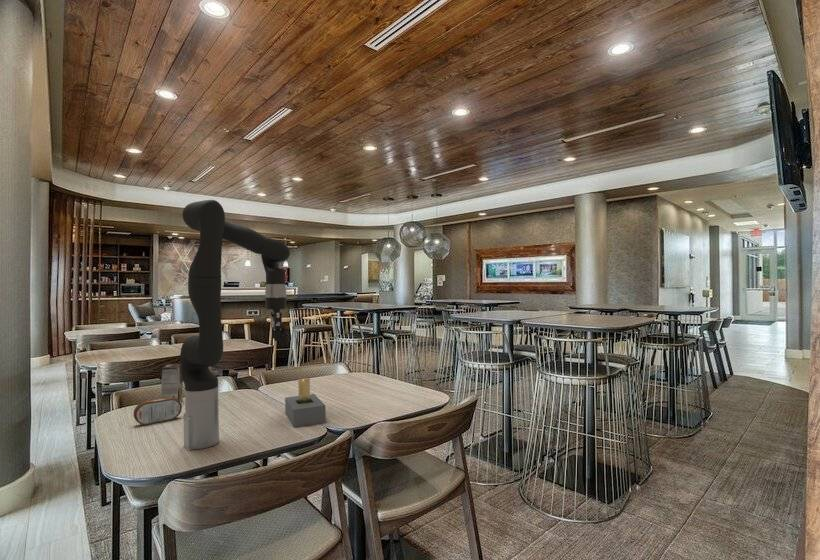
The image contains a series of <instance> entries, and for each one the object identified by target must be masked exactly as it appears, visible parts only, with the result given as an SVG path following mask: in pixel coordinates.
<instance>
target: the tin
mask: <svg viewBox="0 0 820 560" xmlns="http://www.w3.org/2000/svg"><path fill="white" fill-rule="evenodd" d="M182 409H183V405H182V402H181V403H180V401H179V400H178V399H177V398H175V397H166V398H162V397H160V398H153V399H152V398H151V399H147V400H143V401H141V402H140V403H138V404H137V405H136V407H135V408H134V410H133V418H134V420H135V422H137V423H138V424H140V425H142V426H144V425H145V426H148V425H154V424H159V423H164V422H170V421H174V420H176V418H177V417H178V416H179V415H180V414H181V413H182Z"/></svg>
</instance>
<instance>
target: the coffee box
mask: <svg viewBox="0 0 820 560" xmlns="http://www.w3.org/2000/svg"><path fill="white" fill-rule="evenodd" d="M160 370H161V371H160V372H161V373H160V374H161V376H160V377H161V379H160V381H161V398H166V397H175V398H177V399H178V400H179V401H180V402H181V401H182V400H184V395H183V394H184V391H183V390H184V386H183V385H184V382H183V380H182V375H181V363H168V364H165V365H164V366H162V367H161V368H160ZM182 402H183V401H182ZM182 402H181V403H182Z"/></svg>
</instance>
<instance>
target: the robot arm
mask: <svg viewBox="0 0 820 560" xmlns="http://www.w3.org/2000/svg"><path fill="white" fill-rule="evenodd" d="M182 220H183V222H184V223H185V225H186V226H187V227H188V228H190V229H191V230H194V231H197V232H199V245H198V248H197V251H196V253H195V254H194V256H193V257H194V258H193V259H192V262H191V264H190V267H189V270H188V276H187V277H188V278H187V280H188V281H187V292H188V297H189V300H190V302H191V304H192V308H193V310H194V311H195V314H196V316H197V319H198V326H199V327H198V328H199V329H198V332H199V333H198V335H191V336H189V337H188V338H186V339H185V340H184V341H183V342H182V346H181V348H180V364H181V375H182V380H183V385H184V395H185V396H184V400H185V401H184V402H185V403H184V404H185V405H184V406H185V407H184V408H185V411H184V413H183V446H184V447H185V448H186V449H187V450H188V451H191V450H201V449H207V448H211V447H213V446H215V445H217V444H218V443H220V424H219V423H220V420H219V419H220V418H219V414H220V412H219V410H220V409H219V407H220V405H219V378H218V377H217V376H216V375H215V374H214V373H213V372H212V371H211V369H210V368H211V367H214V366H217V364H219V362H220V361H221V360H222V357H223V354H224V339H223V338H224V337H223V327H222V307H221V305H222V304H221V302H222V300H221V295H222V293H221V292H222V257H223V254H222V251H223V250H222V249H223V240H224V241H228V242H230V243H232V244H234V245H237V246H239V247H241V248H243V249H245V250H246V251H247V250H248V251H249V252H252V253H254V254H257V255H261V261H262V264H263V268H264V272H265V291H264V292H265V293H264V298H265V302H264V303H265V306H264V307H265V309H266V310H271V311H270V314H269V319H270V321H269V322H270V328H271V338H272V339H273V341H275V342H279V341H281V340H282V336H281V335H282V333H281V331H282V329H283V326H282V325H283V321H282V319H283V313H282V312H281V310H285V309H287V287H286V271H285V269H283V268H280V267H279V265H278V263H279V262H285V261H287V260H288V259H289V257H290V253H291V252H290V251H291V250H290V248H289V246H287V245H286V244H285V243H284V242H283V241H281V240H276V239H275V238H272V237H271V238H270V237H268V236H265V235H263V234H261V233H260V232H258V231H255V230H254V229H252V228H249V227H246V226H243V225H239V224H236V223H233V222H231V221H230V222H229V221H227V220H226V214H225V210H224V207H223V205H222V204H221V203H220V202H219V201H217V200H215V199H206V200H205V199H204V200H199V201H194V202H191V203H188V204H187V205H185V206H184V208H183V210H182Z"/></svg>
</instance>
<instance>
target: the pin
mask: <svg viewBox="0 0 820 560" xmlns="http://www.w3.org/2000/svg"><path fill="white" fill-rule="evenodd" d="M310 381H311V380H310V378H308V377H301V378H299V379H298V381H297V382H298V383H297V384H298V396H299V404H303V403H310V394H311V389H310V388H311V384H310V383H311V382H310Z"/></svg>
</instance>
